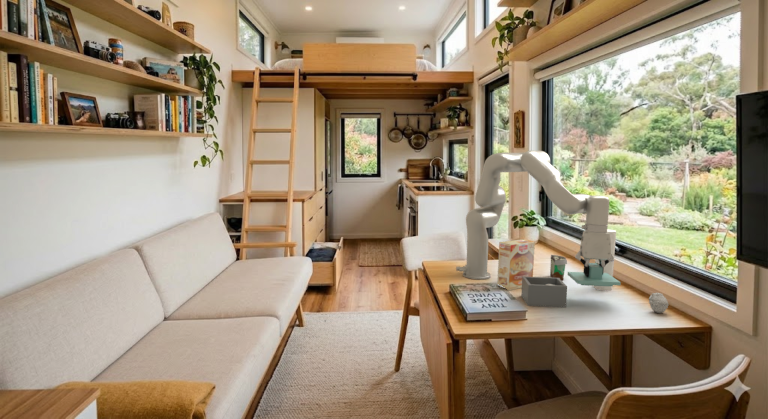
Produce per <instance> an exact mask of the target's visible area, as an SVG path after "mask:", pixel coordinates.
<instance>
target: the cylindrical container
mask: <svg viewBox="0 0 768 419" xmlns="http://www.w3.org/2000/svg"><path fill="white" fill-rule="evenodd" d="M607 232H608V233H610V241H611V254H612V256H613V257H614V258H615V250H616V239H617V230H614V229H609V228H607ZM594 260H595V262H594V263H597V264H598V265H599V259H594ZM614 265H615V259H614V260H612V261H610V262H609V263H607V264H606V265H605V267H604V270H603V273H608V274H609V275H611V276H612V277H614ZM593 288H594V289H596V290H598V291H604V292H605V291H607V292H608V291H612V290H613V286H593Z"/></svg>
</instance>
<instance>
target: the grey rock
mask: <svg viewBox="0 0 768 419" xmlns="http://www.w3.org/2000/svg"><path fill="white" fill-rule="evenodd" d="M648 303H649V306H650V308H651V310H652V311H653V312H655V313H658V314H661V313H662V314H663V313H665V312H666V310H667V309H668V308H669V307H668V306H669V305H670V304H669V302H668V299H667V298H666V297H665V296H664V294H663V293H661V292H655V293H653V292H652V293H651V294H650V296H649V298H648Z"/></svg>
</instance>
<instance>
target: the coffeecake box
mask: <svg viewBox="0 0 768 419" xmlns="http://www.w3.org/2000/svg"><path fill="white" fill-rule="evenodd" d="M535 247H536V242H535V241H534V240H528V239H524V238H523V239H514V240H508V241H499V246H498V261H497V262H498V263H497V264H498V266H497V283H496V284H499V285H502V286H503V287H505V288H506V289H507V291H513V290H517V289H522V276H523V277H534V267H535V266H534V263H535V262H534V261H535ZM506 289H505V290H506Z"/></svg>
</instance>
